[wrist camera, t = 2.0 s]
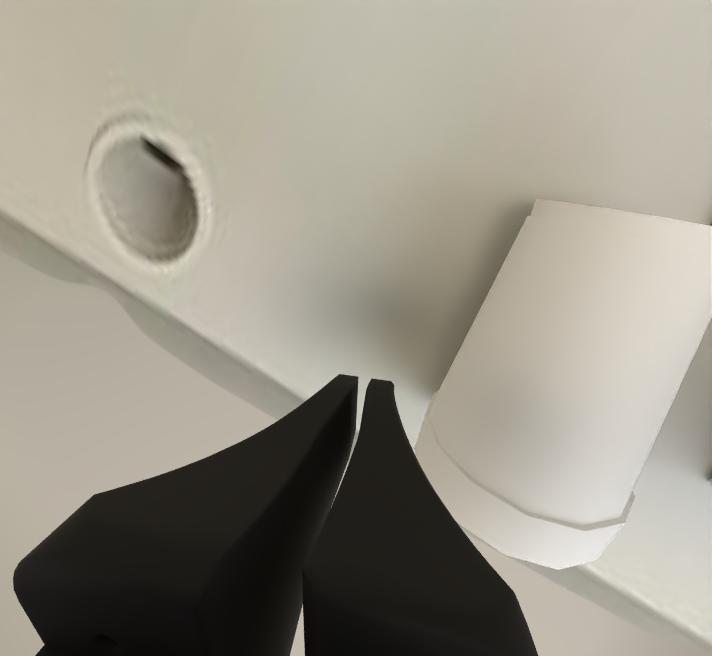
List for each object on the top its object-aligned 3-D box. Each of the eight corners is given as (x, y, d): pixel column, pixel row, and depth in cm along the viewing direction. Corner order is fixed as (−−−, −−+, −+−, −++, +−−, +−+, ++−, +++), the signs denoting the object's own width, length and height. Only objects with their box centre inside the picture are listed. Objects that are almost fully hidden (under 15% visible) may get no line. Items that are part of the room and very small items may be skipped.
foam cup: (799, 231, 6) (529, 615, 11) (854, 255, 11) (644, 520, 16) (447, 182, 13) (382, 430, 19) (570, 209, 18) (490, 401, 23)
